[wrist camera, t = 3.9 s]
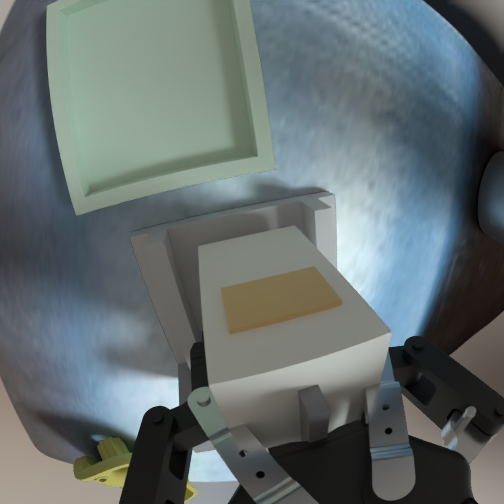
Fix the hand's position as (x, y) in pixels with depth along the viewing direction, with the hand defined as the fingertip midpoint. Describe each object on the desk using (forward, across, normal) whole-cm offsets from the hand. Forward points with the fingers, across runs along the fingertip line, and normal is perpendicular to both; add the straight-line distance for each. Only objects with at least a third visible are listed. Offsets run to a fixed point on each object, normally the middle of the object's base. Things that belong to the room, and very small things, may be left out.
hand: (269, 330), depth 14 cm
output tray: (+5, +3, -13) cm, 15 cm away
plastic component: (+5, +18, +23) cm, 30 cm away
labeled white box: (+3, 0, 0) cm, 3 cm away
